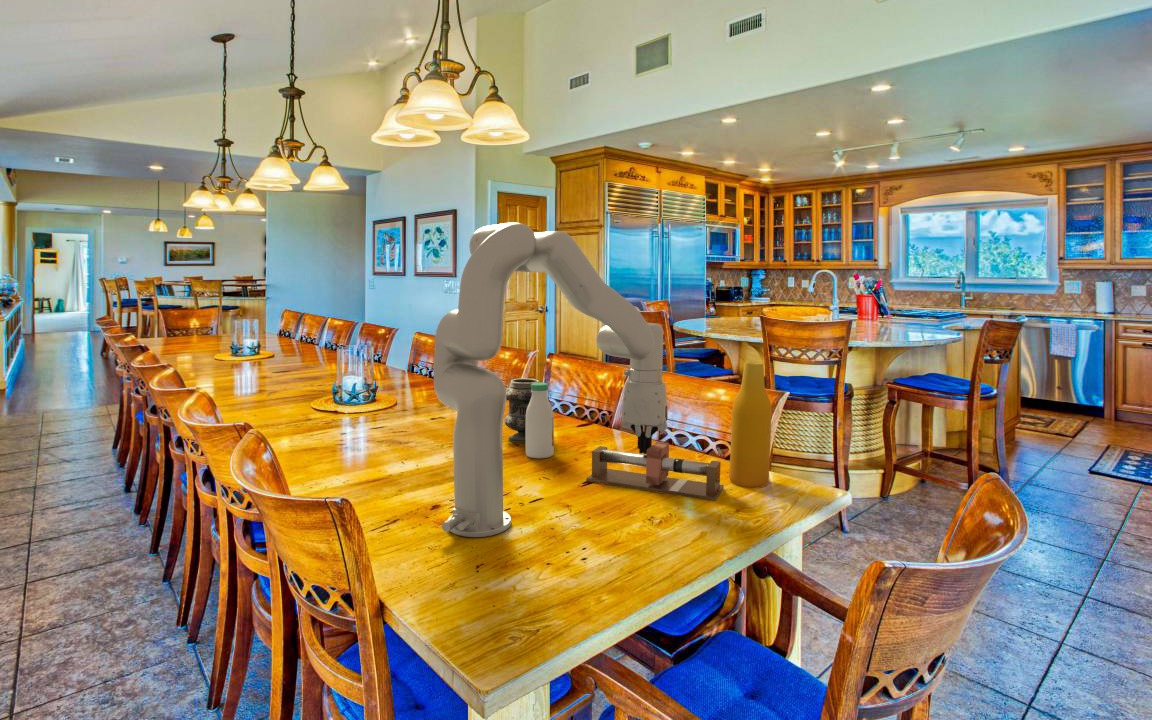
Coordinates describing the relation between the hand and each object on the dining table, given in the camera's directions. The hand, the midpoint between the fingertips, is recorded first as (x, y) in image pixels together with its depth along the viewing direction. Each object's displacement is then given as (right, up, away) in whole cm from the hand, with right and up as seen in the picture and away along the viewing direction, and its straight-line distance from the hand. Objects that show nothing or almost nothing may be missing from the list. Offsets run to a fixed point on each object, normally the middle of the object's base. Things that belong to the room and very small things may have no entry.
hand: (644, 452), depth 149 cm
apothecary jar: (-32, -2, +41) cm, 52 cm away
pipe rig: (+2, -8, 0) cm, 8 cm away
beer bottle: (+25, -8, +2) cm, 27 cm away
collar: (+3, -6, -1) cm, 7 cm away
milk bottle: (-26, -5, +24) cm, 36 cm away
